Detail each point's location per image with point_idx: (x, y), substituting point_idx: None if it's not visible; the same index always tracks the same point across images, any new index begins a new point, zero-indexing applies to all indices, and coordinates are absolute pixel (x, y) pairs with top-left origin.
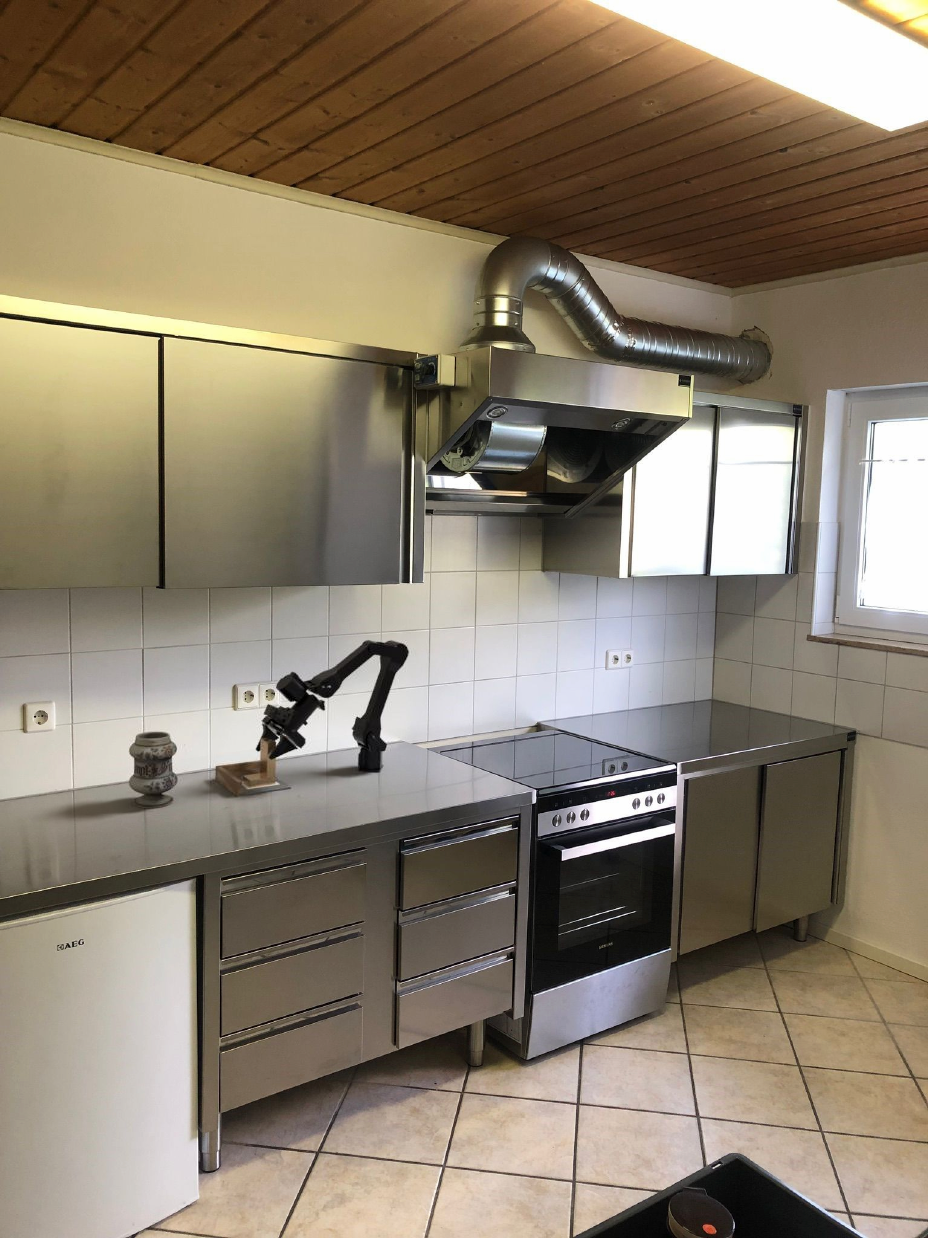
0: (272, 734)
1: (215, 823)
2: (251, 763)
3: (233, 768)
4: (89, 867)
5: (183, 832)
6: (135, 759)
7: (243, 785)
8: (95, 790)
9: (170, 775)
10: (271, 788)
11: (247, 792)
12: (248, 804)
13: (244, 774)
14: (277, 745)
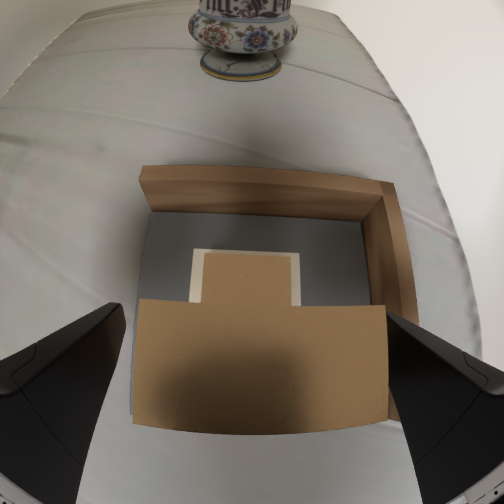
0: (462, 470)
1: (51, 117)
2: None
3: (386, 251)
4: (77, 30)
5: (66, 79)
6: None
7: (246, 253)
8: (350, 48)
9: (206, 17)
10: None
11: (160, 234)
12: (78, 201)
13: None
14: (34, 360)
